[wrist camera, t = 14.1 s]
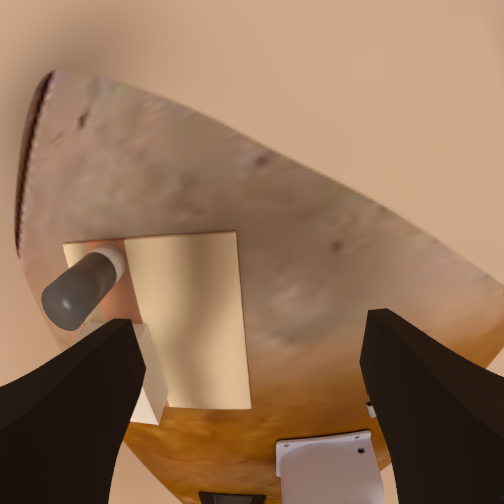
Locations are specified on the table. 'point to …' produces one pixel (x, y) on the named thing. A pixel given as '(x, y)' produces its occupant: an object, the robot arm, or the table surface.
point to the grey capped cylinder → (83, 286)
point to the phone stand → (230, 498)
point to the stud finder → (153, 383)
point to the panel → (183, 312)
